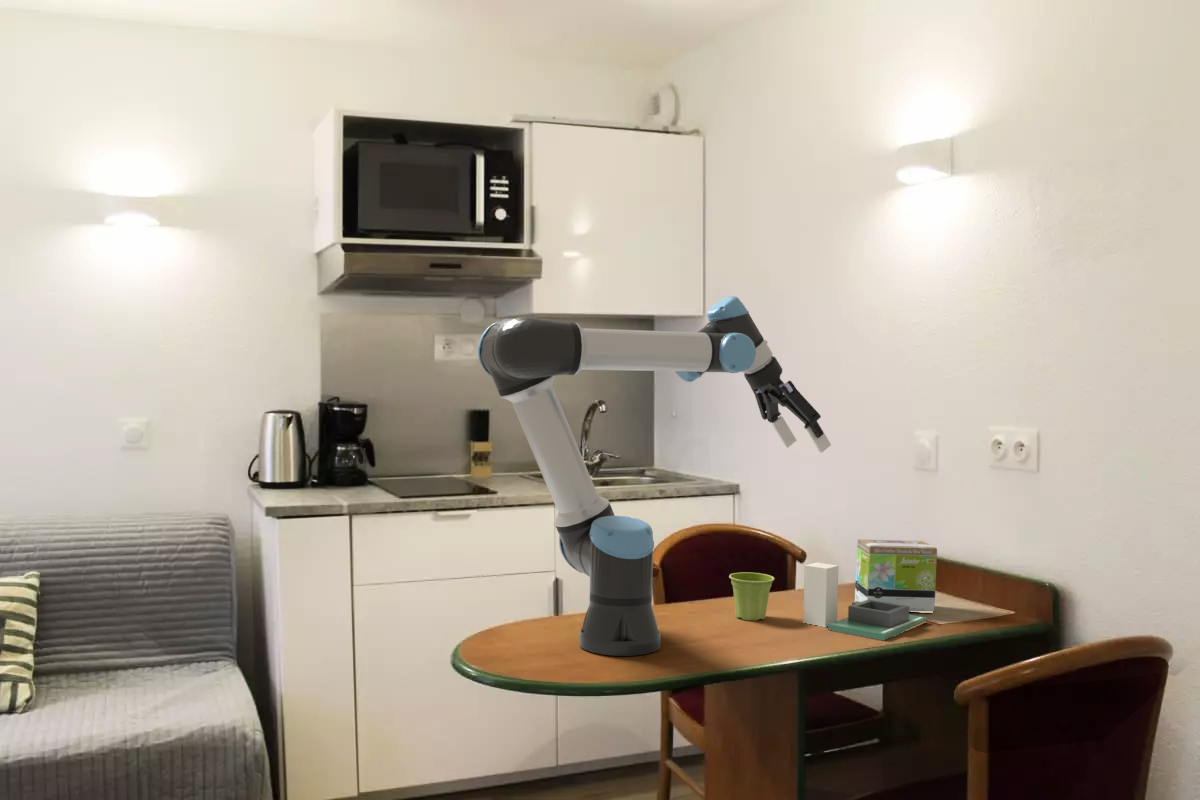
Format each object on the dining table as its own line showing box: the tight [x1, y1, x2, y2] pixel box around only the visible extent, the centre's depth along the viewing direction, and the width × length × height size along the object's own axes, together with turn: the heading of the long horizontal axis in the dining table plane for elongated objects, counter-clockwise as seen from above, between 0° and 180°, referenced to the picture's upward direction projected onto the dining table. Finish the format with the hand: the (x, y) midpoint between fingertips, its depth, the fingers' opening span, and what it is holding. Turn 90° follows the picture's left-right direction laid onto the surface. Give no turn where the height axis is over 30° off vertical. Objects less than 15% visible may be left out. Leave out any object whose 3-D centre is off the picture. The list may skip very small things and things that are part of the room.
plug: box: [802, 561, 839, 628], centre depth 216 cm, size 5×6×12 cm
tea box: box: [854, 538, 938, 612], centre depth 231 cm, size 15×10×15 cm, turn 92°
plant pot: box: [728, 571, 775, 622], centre depth 220 cm, size 9×9×9 cm
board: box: [827, 599, 928, 642], centre depth 214 cm, size 20×12×4 cm, turn 139°
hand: (808, 446), depth 223 cm, fingers open, 13 cm apart
